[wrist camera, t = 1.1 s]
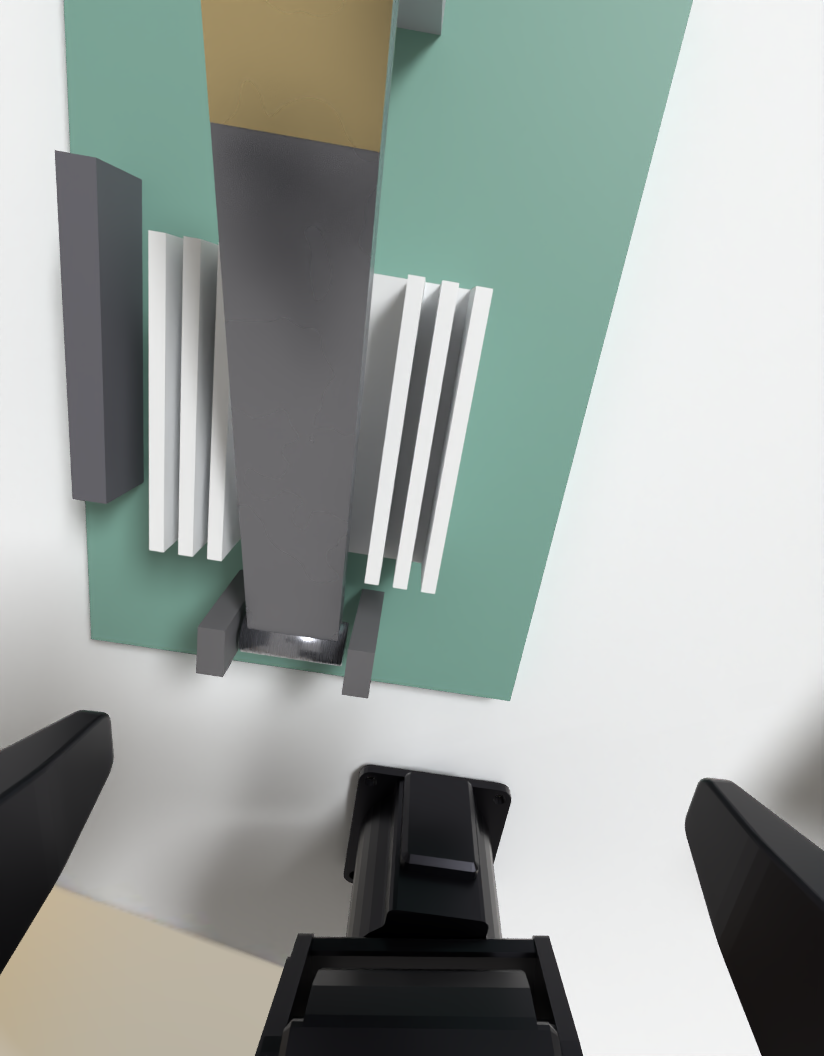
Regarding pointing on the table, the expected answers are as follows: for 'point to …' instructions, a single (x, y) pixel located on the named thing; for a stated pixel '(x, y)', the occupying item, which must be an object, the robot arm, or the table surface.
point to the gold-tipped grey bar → (297, 289)
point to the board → (445, 214)
